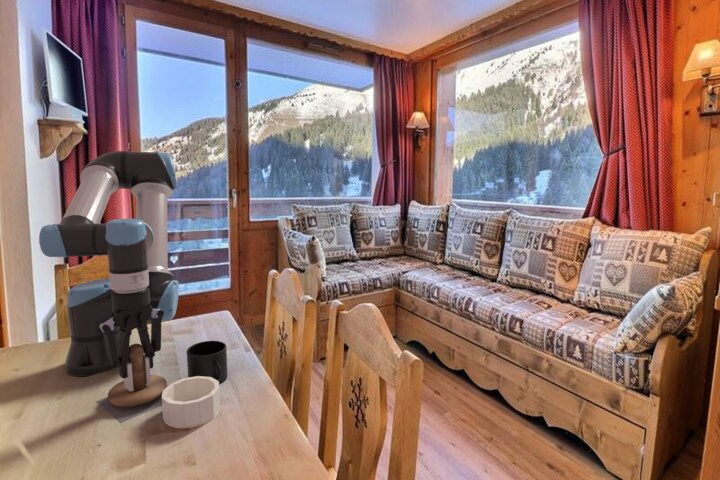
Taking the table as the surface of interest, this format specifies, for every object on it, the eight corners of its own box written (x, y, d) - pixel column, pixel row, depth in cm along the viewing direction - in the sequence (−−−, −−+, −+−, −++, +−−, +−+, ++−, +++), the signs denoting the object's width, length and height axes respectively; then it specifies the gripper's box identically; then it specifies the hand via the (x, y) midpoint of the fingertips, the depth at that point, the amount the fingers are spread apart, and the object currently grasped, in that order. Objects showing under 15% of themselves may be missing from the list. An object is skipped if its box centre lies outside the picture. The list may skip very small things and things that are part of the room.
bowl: (153, 416, 88) (151, 391, 87) (201, 394, 97) (200, 371, 96) (181, 437, 81) (180, 410, 80) (230, 412, 90) (229, 387, 89)
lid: (99, 393, 92) (94, 345, 90) (151, 373, 102) (148, 329, 100) (122, 413, 85) (117, 361, 83) (176, 389, 95) (173, 343, 93)
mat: (96, 403, 92) (95, 401, 92) (153, 381, 102) (153, 379, 102) (120, 425, 84) (120, 422, 84) (180, 399, 95) (179, 396, 94)
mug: (202, 399, 95) (200, 363, 93) (182, 380, 103) (180, 347, 102) (238, 385, 101) (237, 351, 100) (217, 368, 110) (216, 337, 108)
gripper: (96, 301, 81) (106, 407, 85) (174, 284, 93) (179, 377, 97) (82, 293, 85) (92, 394, 89) (158, 278, 98) (164, 367, 102)
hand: (137, 385), depth 93 cm, fingers closed on lid, 3 cm apart
